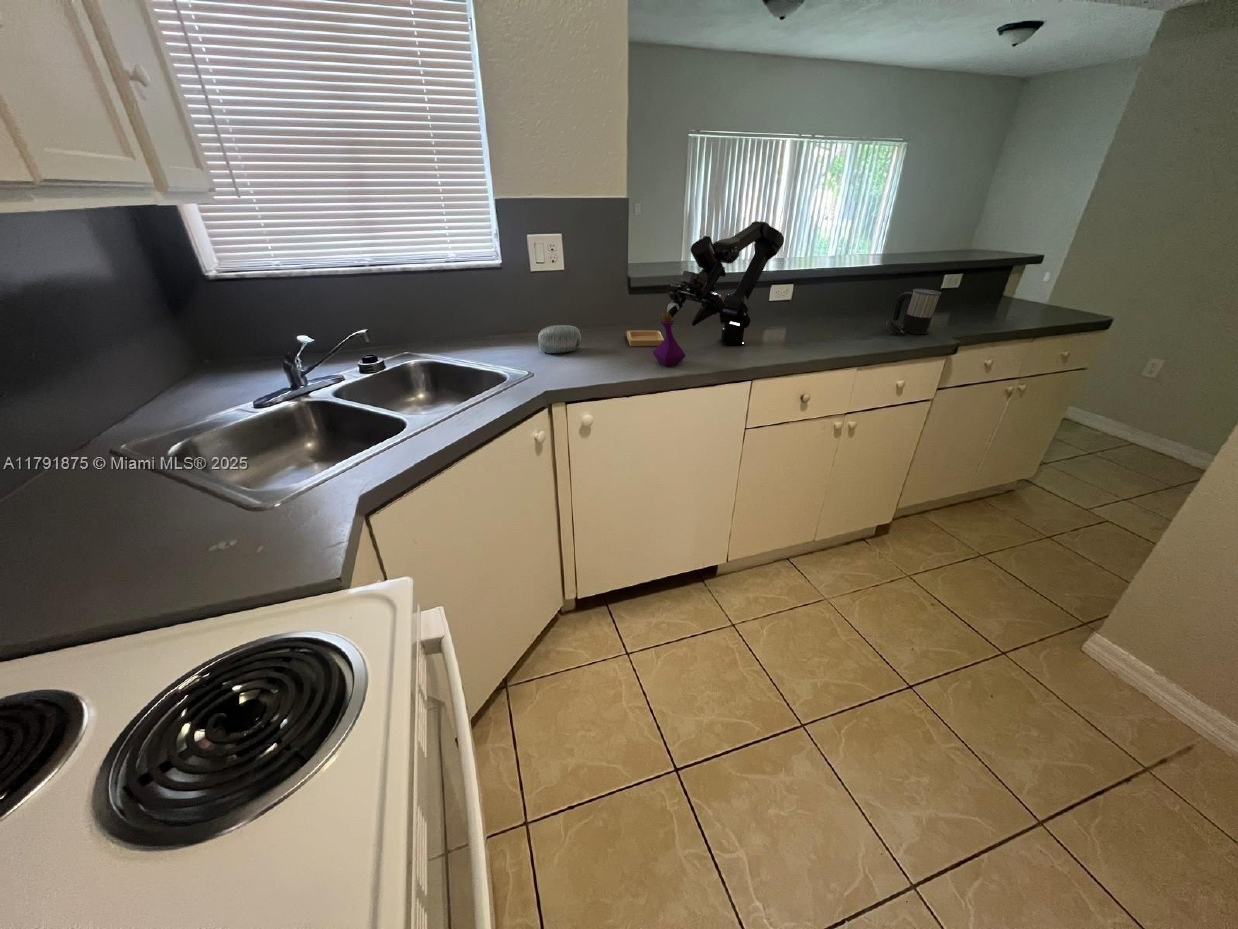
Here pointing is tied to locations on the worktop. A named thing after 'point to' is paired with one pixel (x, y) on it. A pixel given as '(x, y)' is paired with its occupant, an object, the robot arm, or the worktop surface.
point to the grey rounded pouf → (559, 339)
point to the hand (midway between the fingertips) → (680, 321)
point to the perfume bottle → (668, 343)
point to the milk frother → (915, 311)
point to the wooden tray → (644, 338)
